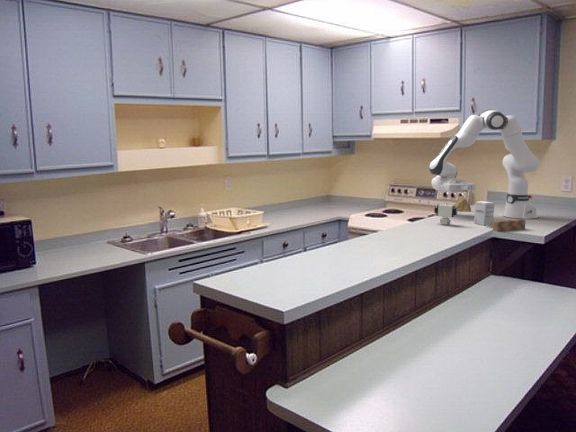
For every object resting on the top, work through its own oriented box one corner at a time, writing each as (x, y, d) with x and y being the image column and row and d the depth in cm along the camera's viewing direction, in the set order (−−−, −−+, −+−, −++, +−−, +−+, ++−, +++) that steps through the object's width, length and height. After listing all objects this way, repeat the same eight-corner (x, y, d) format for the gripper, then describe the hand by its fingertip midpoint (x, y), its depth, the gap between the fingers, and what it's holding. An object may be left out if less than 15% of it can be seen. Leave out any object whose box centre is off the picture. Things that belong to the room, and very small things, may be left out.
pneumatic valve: (454, 226, 281) (456, 204, 280) (433, 223, 287) (434, 202, 285) (457, 224, 286) (458, 203, 284) (436, 222, 292) (437, 201, 290)
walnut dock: (507, 225, 287) (508, 216, 286) (524, 229, 276) (525, 219, 276) (480, 227, 279) (480, 218, 278) (496, 231, 268) (497, 221, 268)
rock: (475, 207, 340) (462, 204, 347) (473, 198, 335) (459, 194, 342) (466, 218, 336) (453, 214, 343) (463, 209, 331) (450, 205, 338)
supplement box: (473, 223, 292) (475, 201, 290) (482, 222, 295) (484, 200, 293) (483, 225, 285) (485, 203, 283) (493, 224, 289) (495, 202, 287)
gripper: (439, 180, 307) (455, 182, 294) (465, 180, 315) (482, 182, 302) (438, 191, 308) (454, 193, 295) (464, 190, 316) (481, 193, 303)
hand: (468, 188), depth 299 cm, fingers closed
